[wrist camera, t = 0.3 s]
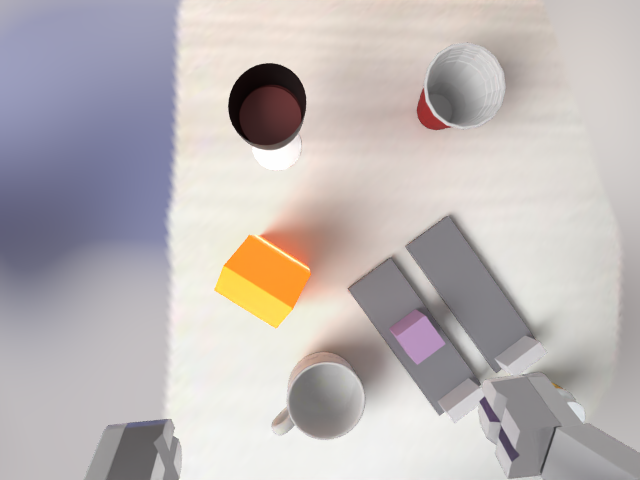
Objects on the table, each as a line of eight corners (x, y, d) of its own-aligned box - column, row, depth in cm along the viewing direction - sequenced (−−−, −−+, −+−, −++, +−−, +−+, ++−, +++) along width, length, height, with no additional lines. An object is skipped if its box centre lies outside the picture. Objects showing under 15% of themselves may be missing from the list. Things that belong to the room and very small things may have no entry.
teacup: (341, 335, 65) (348, 349, 57) (368, 399, 65) (378, 422, 57) (257, 370, 64) (251, 390, 56) (284, 435, 64) (282, 464, 56)
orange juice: (260, 234, 64) (242, 233, 44) (308, 265, 64) (314, 278, 44) (232, 278, 64) (202, 296, 44) (281, 308, 64) (274, 341, 44)
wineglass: (312, 131, 64) (319, 84, 44) (288, 183, 64) (283, 158, 44) (265, 108, 64) (250, 49, 44) (240, 160, 63) (214, 124, 43)
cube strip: (478, 382, 65) (493, 394, 60) (437, 412, 65) (449, 427, 60) (389, 257, 65) (397, 259, 60) (347, 288, 64) (351, 292, 59)
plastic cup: (415, 158, 65) (442, 140, 53) (390, 92, 65) (411, 59, 53) (479, 133, 65) (520, 110, 53) (454, 68, 65) (490, 30, 53)
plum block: (434, 335, 64) (445, 343, 59) (407, 354, 64) (417, 365, 59) (415, 309, 64) (425, 315, 59) (389, 328, 64) (396, 336, 59)
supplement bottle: (508, 386, 66) (544, 412, 56) (535, 366, 66) (575, 388, 57) (528, 413, 66) (567, 443, 57) (554, 393, 66) (598, 419, 57)
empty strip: (533, 340, 66) (553, 348, 61) (493, 370, 66) (509, 381, 61) (446, 216, 65) (458, 214, 60) (405, 246, 65) (414, 247, 60)
